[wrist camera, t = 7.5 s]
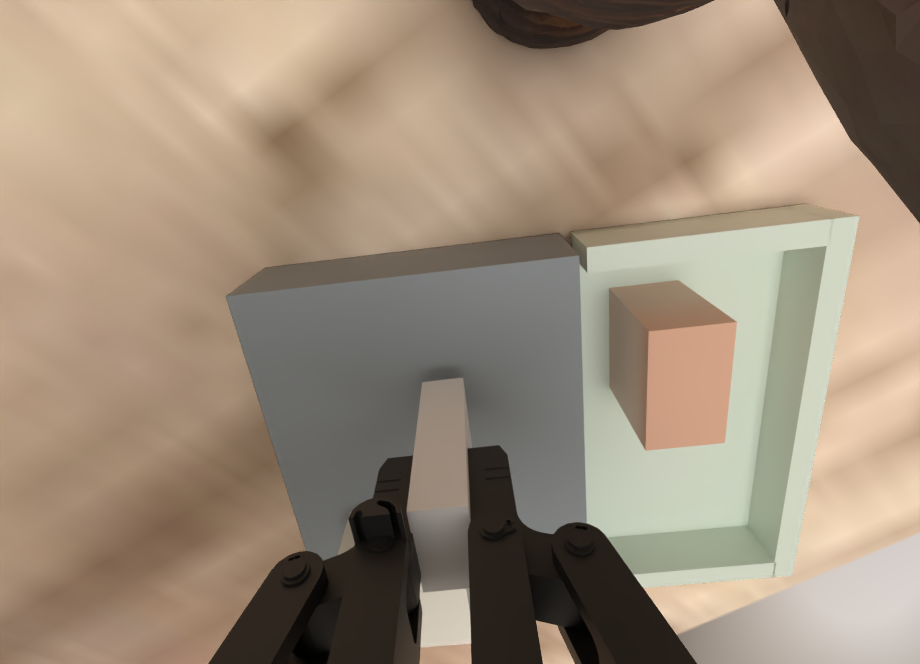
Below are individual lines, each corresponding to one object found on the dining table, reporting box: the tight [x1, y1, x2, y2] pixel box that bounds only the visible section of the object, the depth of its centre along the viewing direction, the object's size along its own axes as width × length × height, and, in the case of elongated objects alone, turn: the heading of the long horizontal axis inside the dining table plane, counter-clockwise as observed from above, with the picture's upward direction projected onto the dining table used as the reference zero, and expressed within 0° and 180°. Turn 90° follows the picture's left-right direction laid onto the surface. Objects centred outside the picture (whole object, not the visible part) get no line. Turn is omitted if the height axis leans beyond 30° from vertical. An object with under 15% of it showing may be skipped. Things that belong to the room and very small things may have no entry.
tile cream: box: [338, 511, 471, 647], centre depth 22 cm, size 5×5×3 cm
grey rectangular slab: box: [226, 233, 587, 560], centre depth 23 cm, size 13×18×4 cm
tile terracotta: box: [609, 280, 737, 451], centre depth 20 cm, size 5×5×3 cm
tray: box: [571, 204, 859, 588], centre depth 23 cm, size 10×18×3 cm, turn 7°
